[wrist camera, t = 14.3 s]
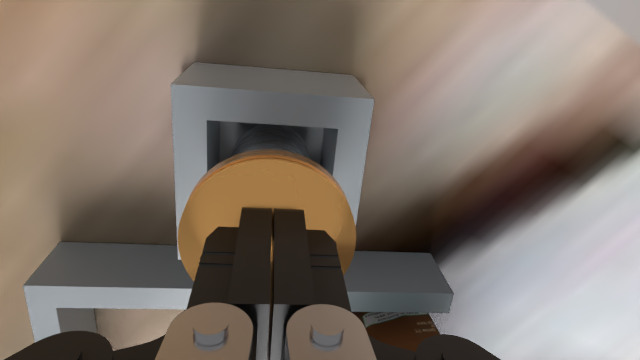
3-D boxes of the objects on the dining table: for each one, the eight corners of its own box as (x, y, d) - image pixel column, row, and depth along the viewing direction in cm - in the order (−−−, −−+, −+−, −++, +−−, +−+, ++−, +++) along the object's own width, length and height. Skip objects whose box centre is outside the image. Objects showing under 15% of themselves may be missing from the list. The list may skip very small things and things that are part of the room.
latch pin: (324, 213, 17) (345, 314, 12) (210, 209, 17) (180, 312, 11) (336, 104, 16) (367, 166, 10) (209, 95, 15) (174, 155, 10)
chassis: (379, 471, 27) (395, 546, 23) (99, 480, 25) (69, 565, 21) (469, 84, 17) (520, 110, 14) (27, 48, 15) (-49, 67, 12)
